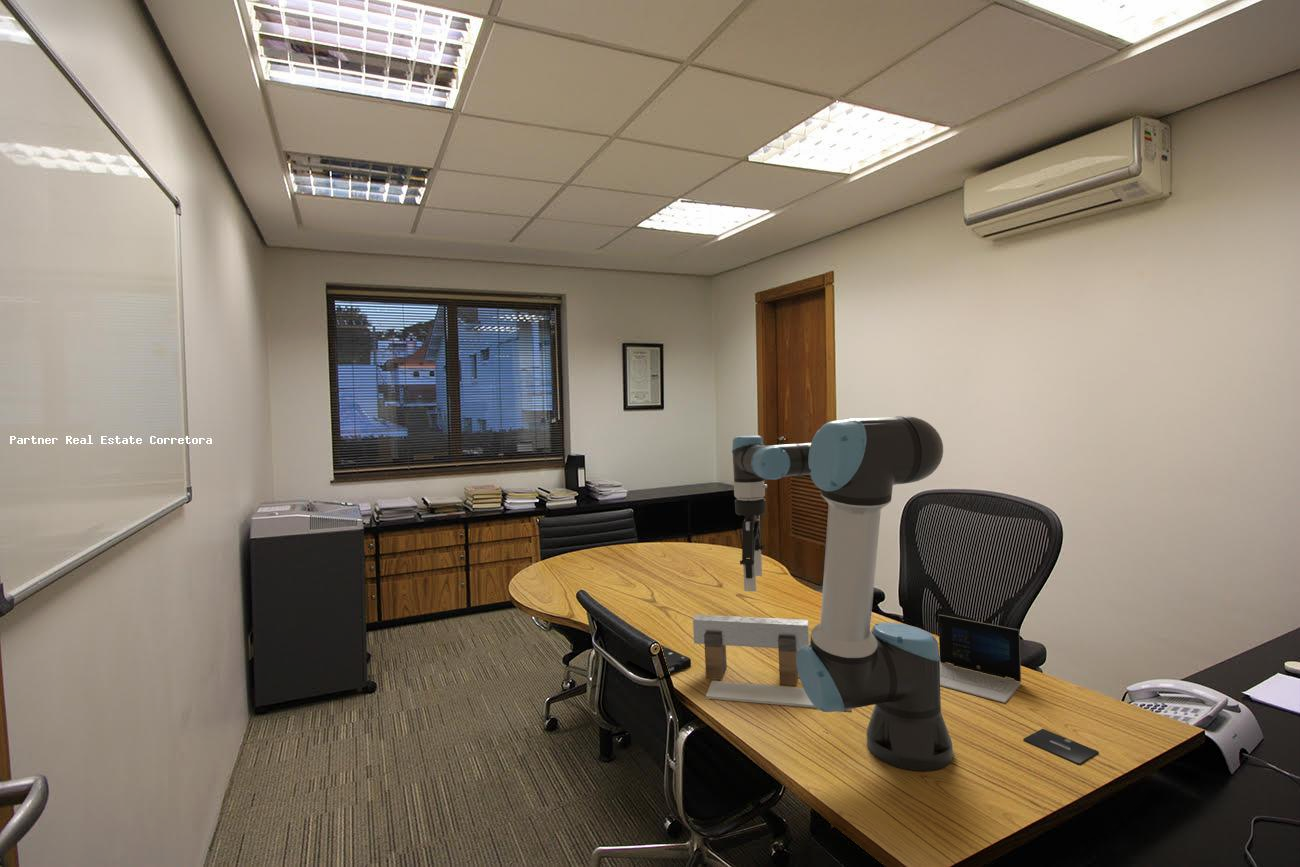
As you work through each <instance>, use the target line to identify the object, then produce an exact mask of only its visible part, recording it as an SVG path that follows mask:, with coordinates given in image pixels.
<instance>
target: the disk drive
mask: <svg viewBox="0 0 1300 867" xmlns="http://www.w3.org/2000/svg"><path fill="white" fill-rule="evenodd" d="M660 645H661V644H660ZM661 647H662V649H663V653H664V657H665V660H666V664H667V667H668V670H669V672H670V674H671V675H673V674H675V673H678V672H681V671H684V670H687V669H689V668H691V667H692V660H691V658H690V657H688V656H687V655H683V654H682V653H680V652H677V651H675V650H673V649H671V648H669V647H666V646H664V645H661Z"/></svg>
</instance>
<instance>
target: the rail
mask: <svg viewBox="0 0 1300 867" xmlns="http://www.w3.org/2000/svg"><path fill="white" fill-rule="evenodd" d="M692 625H693V626H692V629H693V644H695V645H696V644H698V645H699V644H701V645H704V634H705V633H712V634H721V645H726V646H731V647H746V648H747V647H749V648H764V649H778V637H783V638H795V642H796V650H799V649H800V648H801V647H803V646H804V645H806V646H810V624H809V619H801V618H800V619H798V618H795V619H794V618H781V617H780V618H778V617H758V616H757V617H754V616H739V615H738V616H733V615H732V616H731V615H715V614H714V615H712V614H695V615H694V617H693V619H692Z"/></svg>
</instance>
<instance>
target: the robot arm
mask: <svg viewBox="0 0 1300 867" xmlns="http://www.w3.org/2000/svg"><path fill="white" fill-rule="evenodd" d="M731 453H732V466H733V467H732V469H733V494H734V495H733V496H734V497H735V500H734V509H735V510H734V511H735V514H736V515H738V516H744V520H743V521H742V522H741V528H742V538H741V539H742V544H741V545H742V546H741V549H742V550H741V560H740V561H739V564H740V565H742V566H743V568H742V569H743V586H744V587H743V589H744V590H743V592H757V579H756V578H757V577H756V576H758V577H762V576H763V564H762V563H763V562H762V550H765V549H764V548H765V545H763V543H762V534H761V527H760V526H761V521H760V516H762V515H765V514H766V512H767V502H766V499H765V498H764V497H765V496H766V489H767V488H768V484H764V483H765V480H774V481H775V480H779V479H781V478H785V477H797V476H806V475H807V476H808V475H809V476H810V478H811V481H812V482H813V484H814V485H815V486H816V487H817V488H818V489H820V496H821V497H822V499H824V500H825V501H826V502H827V504H828V510H827V520H826V521H827V523H826V536H825V538H826V539H825V553H824V563H823V564H824V568H823V579H822V581H823V583H822V592H821V593H822V594H821V611H820V622H819V623H818V624H816V625H815V626H814V627H813V628H812V630H811V632H810V633H811V634H810V642H809V646H806V645H804V646H803V647H801V648H800V649H799V650H798V652H797V657H796V661H797V669H798V678H799V680H800V683H801V684H802V688H804V690H805V693H806V694H807V696H808V698H809V699H810V701H811V702H812V704H813V705H814V706H815V707H816V708H815V709H817V710H819V711H821V712H824V713H833V712H840V713H842V712H845V711H846V710H847V709H851V710H852V709H856V708H857V709H858V708H863V707H868V706H873V710H872V713H871V716H870V720H869V722H868V725H867V729H866V745H867V748H868V750H869V751H870V752H871V753H872V754H873V756H875V757H876V758H878V759H879V760H881V761H882V762H885V764H887V765H891V766H894V767H897V768H901V769H903V770H904V769H905V770H908V771H909V770H910V771H920V772H926V771H927V772H928V771H935V770H940V769H942V768H944V767H946V766H948V765H949V764H951V762H952V761H953V757H954V756H953V755H954V753H953V752H954V751H953V749H954V748H953V746H954V745H953V742H952V738H951V736H950V733H949V730H948V728H947V725H946V723H945V719H944V717H943V714H942V706H941V705H942V704H941V703H942V702H941V686H940V663H941V662H940V648H939V641H938V640H937V639H936V637H935V636H934V635H933V634H931V633H930V632H928V631H927V630H924V629H922V628H920V627H917V626H913V625H909V624H906V623H905V624H904V623H899V622H889V621H888V622H878V623H875V624H874V625H873V626H872V629H871V620H872V610H873V602H874V601H873V600H874V589H875V576H876V568H877V567H876V565H877V555H878V544H879V543H878V542H879V532H880V523H881V511H882V509H883V508H885V507H886V506H887V505H889V504H890V503H891V502H892V494H893V487H894V485H903V484H904V485H905V484H911V483H915V482H920V481H921V480H924V479H926V478H928V477H929V476H930V475H932V474H933V473H934V472H935V471H936V470H937V469H938V468H939V465H940V464H941V462H942V459H943V455H944V444H943V440H942V438H941V436H940V434H939V432H938V431H937V429H936V428H935V427H934V426H933V425H931V423H929V422H927V421H926V420H924V419H922V418H918V417H915V416H910V415H908V416H907V415H906V416H905V415H900V416H899V415H897V416H883V417H881V416H880V417H864V418H863V417H862V418H861V417H859V418H854V417H853V418H852V417H848V418H844V419H840V420H839V419H838V420H833V421H832V420H831V421H829V422H826V423H825V424H823V425H822V426H820V429H818V430H817V431H816V432H815V434H814V436H813V438H812V440H811V442H803V443H787V444H772V445H765V444H764V439H763V437H762V436H761V435H738V436H735V437H734V438H733V440H732V450H731Z"/></svg>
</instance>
